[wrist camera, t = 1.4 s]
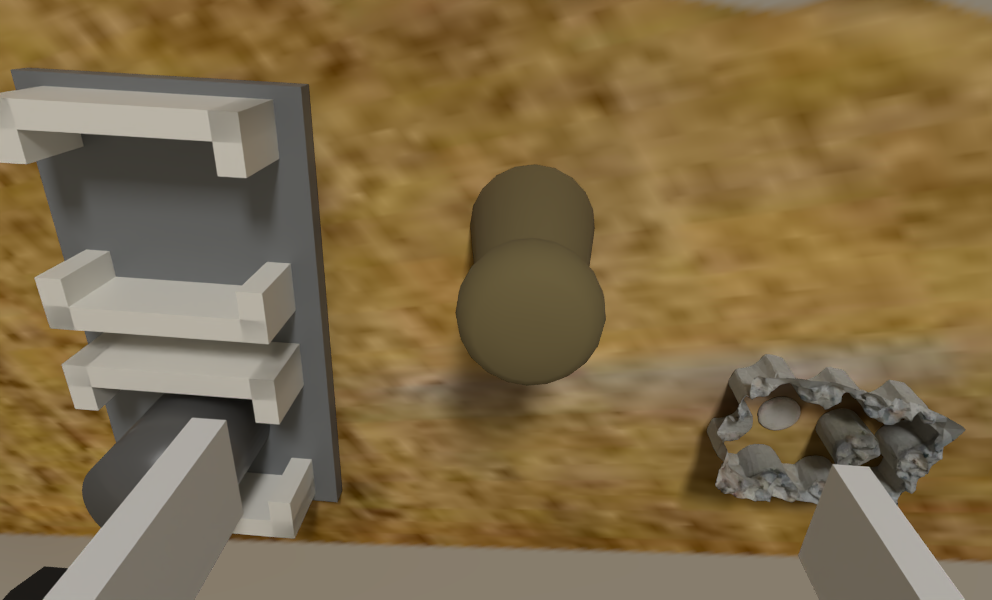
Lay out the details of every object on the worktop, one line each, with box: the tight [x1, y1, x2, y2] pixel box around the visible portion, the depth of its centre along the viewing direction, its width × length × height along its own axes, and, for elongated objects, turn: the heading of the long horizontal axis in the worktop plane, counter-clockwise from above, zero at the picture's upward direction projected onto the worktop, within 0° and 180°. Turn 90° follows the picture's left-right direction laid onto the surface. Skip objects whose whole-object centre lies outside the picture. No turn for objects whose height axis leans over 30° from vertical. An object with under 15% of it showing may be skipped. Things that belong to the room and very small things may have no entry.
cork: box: [456, 165, 606, 385], centre depth 25 cm, size 6×6×11 cm
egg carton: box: [707, 354, 965, 506], centre depth 32 cm, size 11×8×4 cm
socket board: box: [0, 68, 342, 539], centre depth 29 cm, size 13×24×8 cm, turn 177°
